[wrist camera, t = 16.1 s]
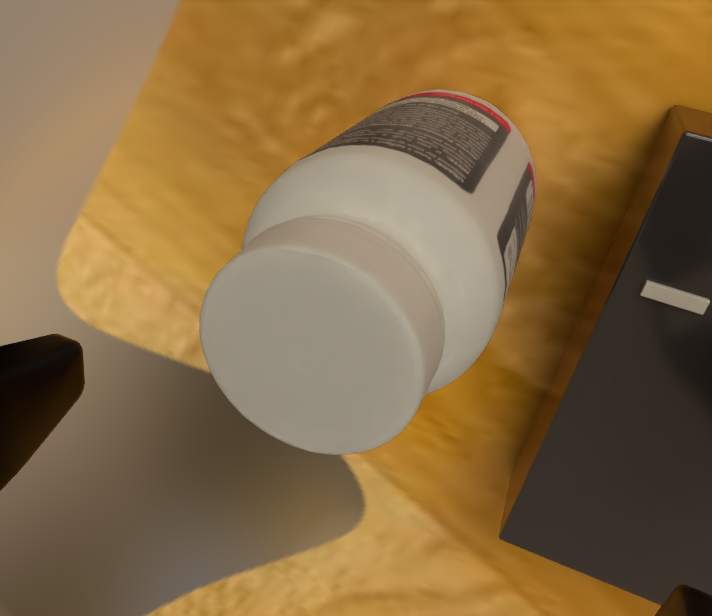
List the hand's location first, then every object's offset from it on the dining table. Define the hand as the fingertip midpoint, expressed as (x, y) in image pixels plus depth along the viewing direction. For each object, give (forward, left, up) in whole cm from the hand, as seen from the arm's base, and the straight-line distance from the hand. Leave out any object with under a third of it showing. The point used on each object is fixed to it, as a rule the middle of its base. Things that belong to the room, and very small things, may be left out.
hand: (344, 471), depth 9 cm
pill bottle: (+1, +1, -11) cm, 11 cm away
